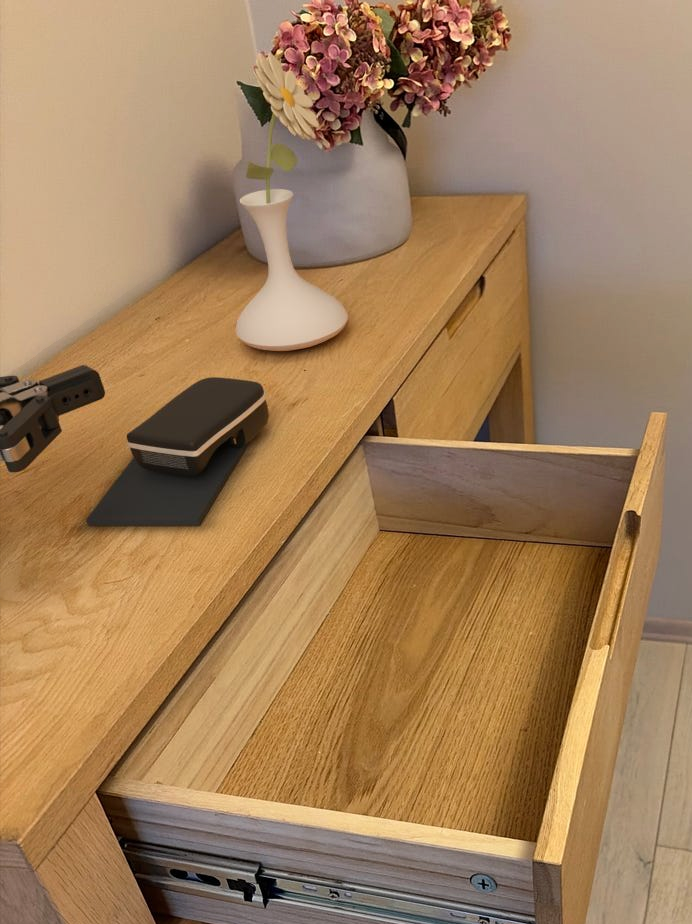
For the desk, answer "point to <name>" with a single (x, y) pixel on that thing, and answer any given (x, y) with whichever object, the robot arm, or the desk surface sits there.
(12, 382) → the robot arm
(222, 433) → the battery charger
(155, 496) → the mat
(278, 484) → the desk surface
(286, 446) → the desk surface
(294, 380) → the desk surface
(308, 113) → the flower in vase
